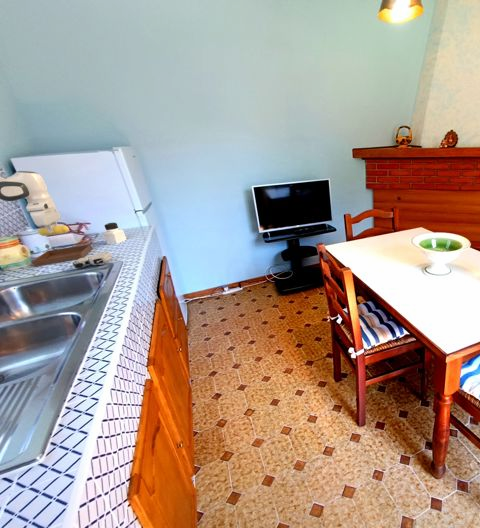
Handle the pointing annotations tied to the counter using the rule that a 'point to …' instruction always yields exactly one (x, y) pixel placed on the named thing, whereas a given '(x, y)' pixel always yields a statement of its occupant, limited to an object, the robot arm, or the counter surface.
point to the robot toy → (92, 260)
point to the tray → (62, 255)
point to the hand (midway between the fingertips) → (53, 231)
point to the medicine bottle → (113, 234)
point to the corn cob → (56, 230)
